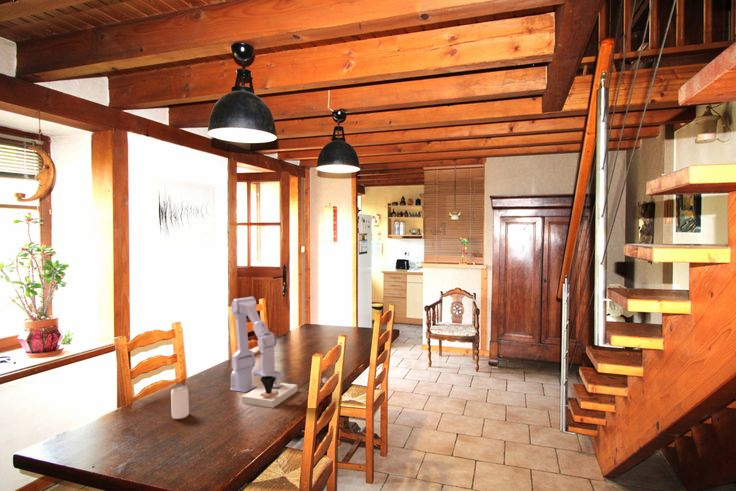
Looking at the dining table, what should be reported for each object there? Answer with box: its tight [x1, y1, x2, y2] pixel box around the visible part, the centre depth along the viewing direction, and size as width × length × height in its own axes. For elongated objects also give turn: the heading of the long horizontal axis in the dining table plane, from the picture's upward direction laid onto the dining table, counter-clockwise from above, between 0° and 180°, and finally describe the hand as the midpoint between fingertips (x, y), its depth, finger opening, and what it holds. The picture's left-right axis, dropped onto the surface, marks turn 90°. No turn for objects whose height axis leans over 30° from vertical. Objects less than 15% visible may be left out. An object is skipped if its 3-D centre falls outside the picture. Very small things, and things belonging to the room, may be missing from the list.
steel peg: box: [272, 378, 282, 389], centre depth 200 cm, size 5×5×8 cm
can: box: [170, 384, 190, 420], centre depth 177 cm, size 6×6×12 cm
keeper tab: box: [260, 390, 278, 397], centre depth 190 cm, size 4×8×1 cm, turn 159°
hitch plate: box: [241, 382, 298, 409], centre depth 196 cm, size 16×20×3 cm
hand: (269, 393), depth 189 cm, fingers closed, pressing on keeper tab
